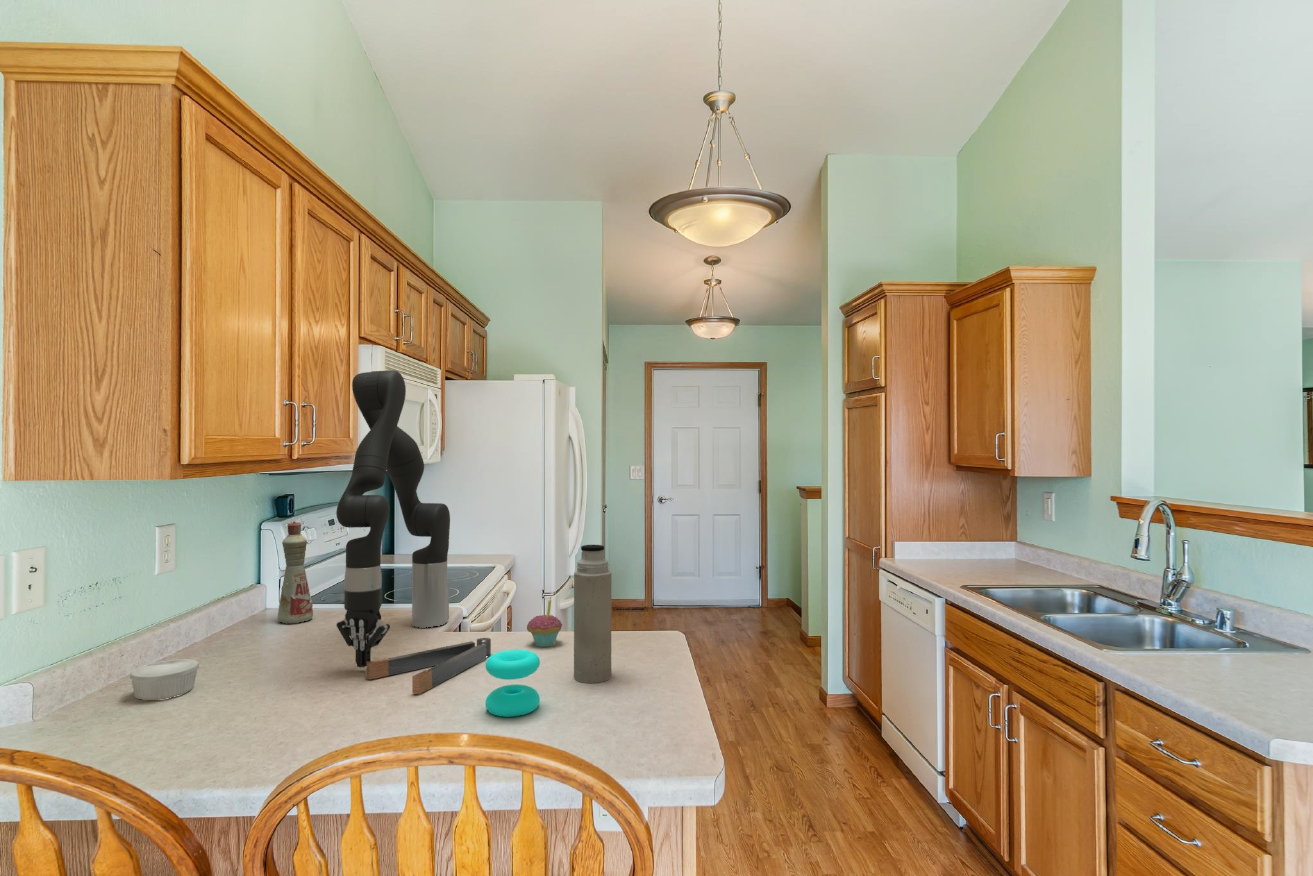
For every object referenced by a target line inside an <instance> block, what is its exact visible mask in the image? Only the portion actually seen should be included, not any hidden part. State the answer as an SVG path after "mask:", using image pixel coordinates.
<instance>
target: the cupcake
mask: <svg viewBox="0 0 1313 876" xmlns="http://www.w3.org/2000/svg"><path fill="white" fill-rule="evenodd" d="M551 605H552V596H550V598H549V599H548V603H547V612H546V614H545V615H543V614H541V615H536V616H534V617H533V618H532V619H530V620H529V621H528V623H527V625H526V631H527V632H529V633H531V635H532V638H533V641H534V645H535V646H536V647H539V648H546V647H548V646H549V647H553V646H554V645H555V644H556V641H557V637H558V634H559V632H560V631H561V630H562V627H563V624H562V622H561V620H560V619H559V618H558V617H556V616H554V615H552V614H550V613H551V607H552V606H551Z"/></svg>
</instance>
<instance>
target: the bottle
mask: <svg viewBox="0 0 1313 876" xmlns="http://www.w3.org/2000/svg"><path fill="white" fill-rule="evenodd" d="M286 526H287V533H288V534H287V536H286V537H284V539H283V540H282V542H281V543H282V548H283V553H284V559H285V570H284V576H283V581H282V585H281V594H280V598H279V604H278V610H277V611H278V612H277V620H278V621H279V623H280V622H282V623H281V624H284V623H296V622H301V623H305V622H304V621H306V622H308V621H310V620H311V619H312V618H313V617H314V610H313V606H314V604H313V601H312V597H311V593H310V589H309V588H310V587H309V583H308V577H307V572H306V568H305V557H306V551H307V543H308V539H307V538H306V537H305V536H304V535H302V534H301V533H302V523H301V522H296V520H295V521H293V522H290V523H287V525H286ZM296 624H297V623H296Z"/></svg>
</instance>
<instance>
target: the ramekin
mask: <svg viewBox="0 0 1313 876" xmlns="http://www.w3.org/2000/svg"><path fill="white" fill-rule="evenodd" d="M199 666H200V663H199V661H197V660H195V659H189V658H187V659H183V658H181V659H170V660H162V661H156V662H151V663H147V664H144V665H141V666H138V667H135V668H133V669H132V670H131V671H130V673H129V679H131V685H132V689H133V694H134V697H135V698H136V699H137V698H138V699H137V700H139V699H142V700H158V699H166V698H170V697H174V696H177V695H181V694H184V693H186V692H188V691H189V692H191V691H192V689H193V688H194V686H195V681H196V676H197V673H198V672H197V671H198V669H199ZM189 692H188V693H189ZM186 694H187V693H186ZM184 695H185V694H184ZM181 696H182V695H181ZM174 698H175V697H174ZM170 699H171V698H170ZM142 700H141V701H142ZM166 700H167V699H166Z"/></svg>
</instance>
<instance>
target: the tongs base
mask: <svg viewBox="0 0 1313 876" xmlns="http://www.w3.org/2000/svg"><path fill="white" fill-rule="evenodd" d="M491 641H492V639H491V638H489V637H481V638H477V639H476V645H475V647H473V648H471V649H469V650H467V651H465V652H463V653H461V654H459V655H457V656H455V657H453V658H451V659H449V660H447V661H445V662H443V663H441V664H439V665H434V666H433V667H432V666H431V668H428V669H424V670H423V671H420V672H417V673H416V674H414V675H412V678H411V679H412V686H411V687H412V688H411V689H412V693H411V694H413V695H414V694H415V695H421V694H423V693H424V692H426V691H428V690H430V689H432V688H434V687H436V686H438V685H440V684H441V683H444V682H445V681H447V680H449V679H451V678H452V677H455V676H456V674H457V675H458V674H460V673H462V672H464V671H465V670H467V669H470V668H472V667H474V666H476V665H477V664H479V663H481V662H483V661H485V660H487V658H486V656H490V655H492V654H491V653H492V647H491V646H492V644H491V643H492V642H491ZM480 661H481V662H480ZM476 663H477V664H476ZM469 667H470V668H469Z"/></svg>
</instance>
